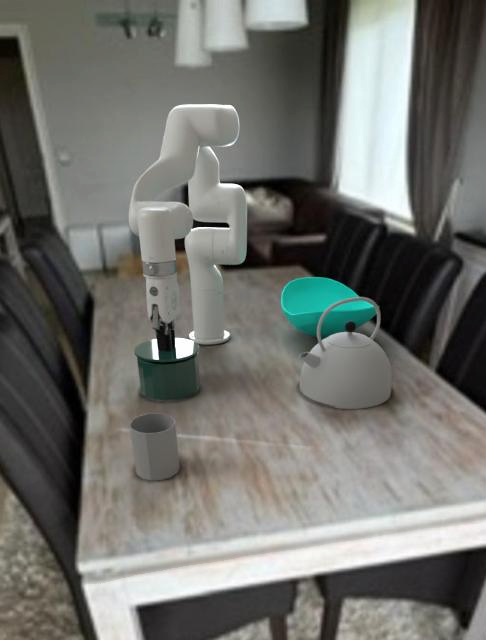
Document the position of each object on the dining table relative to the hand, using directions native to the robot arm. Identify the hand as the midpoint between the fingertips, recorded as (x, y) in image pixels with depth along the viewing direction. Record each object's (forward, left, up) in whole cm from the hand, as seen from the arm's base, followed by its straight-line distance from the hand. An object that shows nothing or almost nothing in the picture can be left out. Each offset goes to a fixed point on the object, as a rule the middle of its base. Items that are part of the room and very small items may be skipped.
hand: (166, 347), depth 136 cm
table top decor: (-50, +34, -11) cm, 61 cm away
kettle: (-8, +42, -11) cm, 44 cm away
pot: (0, 0, -11) cm, 11 cm away
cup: (+37, +10, -11) cm, 40 cm away
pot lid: (0, 0, -1) cm, 1 cm away
